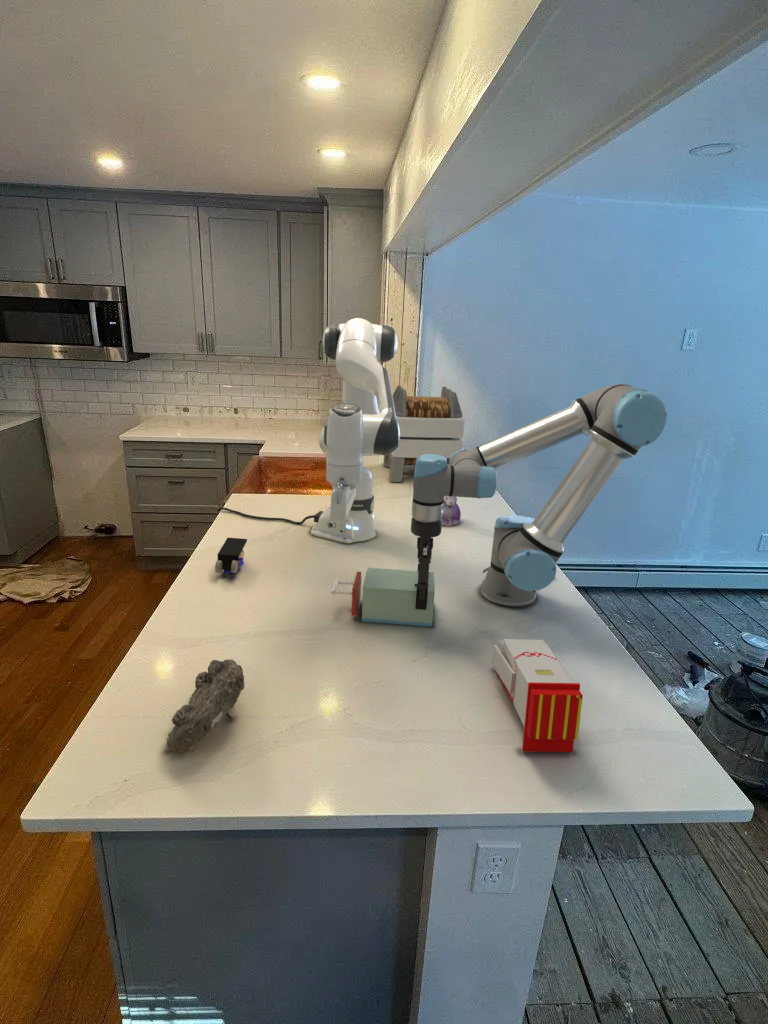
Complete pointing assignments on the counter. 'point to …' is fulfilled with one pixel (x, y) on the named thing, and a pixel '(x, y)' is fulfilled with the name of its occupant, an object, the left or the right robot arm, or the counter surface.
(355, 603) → the drawer
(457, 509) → the figurine
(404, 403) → the transformer
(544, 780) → the counter surface
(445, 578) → the counter surface
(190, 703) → the fossil
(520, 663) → the toy
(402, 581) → the cabinet
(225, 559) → the figurine character
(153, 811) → the counter surface
